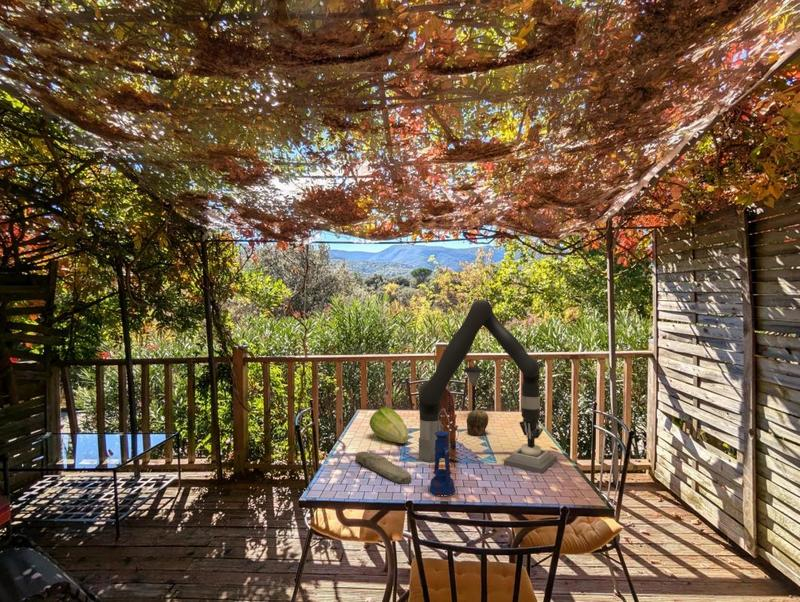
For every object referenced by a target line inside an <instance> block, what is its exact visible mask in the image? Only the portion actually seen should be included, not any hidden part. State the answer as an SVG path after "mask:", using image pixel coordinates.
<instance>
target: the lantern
mask: <svg viewBox="0 0 800 602" xmlns="http://www.w3.org/2000/svg"><path fill="white" fill-rule="evenodd" d="M443 411H444V414H445V415H446V416H445V417H446V419H447V420H448V421H447V422H448V431H444V424H442V423H441V425H440V430H441V431H439V414H440V413H441V412H443ZM440 413H439V414H438V431H437V432H435V435H436V436H437V439H436V440H435V455H434V456H435V461H434V466H433V467H434V470H433V473H432V474H434V476H433V477H431V479H430V482H429V484H430V485H429V490H428V491H430V492H431V493H432V494H431V493H430V492H429V493H430V494H431V495H433V494H434V495H433V496H435V495H440V496H439V497H441V495H443V496H444V495H450V494H453V493H454V492H455V493H456V487H455V482H454V480H453V478H452V477H451V474H452V472H451V464H450V457H451V455H450V453H451V425H450V423H451V422H450V419H449V416H448V414H447V412H446V409H445V408H442V409H440ZM441 414H442V413H441ZM447 438H448V439H447ZM439 458H441V459H444V466H445V467H444V468H440V460H439ZM455 493H454V494H455ZM454 494H453V495H454ZM450 496H451V495H450Z"/></svg>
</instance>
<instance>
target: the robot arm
mask: <svg viewBox="0 0 800 602" xmlns="http://www.w3.org/2000/svg"><path fill="white" fill-rule="evenodd" d="M482 327H484V328H485V329H486V330H487V331H488V332H489V333H490V335H492V336H493V338H494V339H495V340H496V341H497V343H498V344H499V346H500V347H501V348H502V349H503V350H504V351H505V353H506V354H507V355H508V356H509V357H510V358H511V360H513V362H514V363H515V365H516V367H517V368H518V369H519V370H520V372H521V373H522V384H521V417H522V421H520V422H519V426H520V428H521V430H522V433H523V435H524V436H526V439H527V444H528V447H530V448H533V447H534V446H535V445H536V444H535V439H539V437H541V436H540V435H541V434H542V433H543V431H544V429H543V428H542V427H540V423H539V420H540V418H541V401H540V363H539V362H538V360H536V358H532V357H531V356H530V355H529V354H528V352H527V350H526V349H525V347H524V346H523V345H522V344H521V342H520V341H519V340H518V339H517V337H516V336H514V334H512V332H510V331H509V330H508V329H507V328H506V326H504V325H503V324H502V323H501V322H500V320H499V319H498V318H497V316H496V315H495V313H494V311H493V306H492V305H491V303H490V302H489V301H488V300H485V299H478V300H476V301H475V302H473V303H472V304H471V306H470V309H469V311H468V313H467V315H466V317H465V319H464V321H463V322H462V324H461V326H459V329H457V331H456V332H455V334H454V335H453V336H452V338H451V339H450V341H449V343H447V345H446V347H445V349H444V350H443V352H442V354H441V357H440V359H439V361H438V364H437V367H436V368H435V371H434V373H433V375H432V376H431V378H430V379H429V380H427V381H424V382H422V383H421V384H420V386H419V389H418V410H419V411H418V413H419V438H418V460H420V461H425V462H427V463H432V462H435V456H434V455H435V440H436V439H437V436H436V435H435V432H437V431H438V414H439V413H440V411H441V403H440V402H441V399H442V397H443V395H444V393H445V390H446V389H447V387H448V384H449V383H450V381H451V380H452V378H453V376H454V375H455V374H456V372H458V369H459V368H460V366H461V365H462V363H463V362H464V360H465V359H466V357H467V355H468V354H469V352H470V350H471V348H472V346H473V343H474V341H475V339H476V337H477V334H478V333H479V331H480V329H481V328H482ZM441 424H442V413H440V414H439V431H442V429H441V430H440V425H441ZM441 426H442V425H441ZM441 459H442V458H439V461H440V460H441Z"/></svg>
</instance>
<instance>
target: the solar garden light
mask: <svg viewBox="0 0 800 602" xmlns="http://www.w3.org/2000/svg"><path fill="white" fill-rule="evenodd" d="M462 372H464V373H466V375H467V378H468V380H469V382H470V384H471V411H474V410H476V385H477V382H478V380H479V377H480V376H481V374H482V373H484V372H485V370H484V369H483V368H481V367H479V366H469V367H466V368H465V369H463V370H462Z"/></svg>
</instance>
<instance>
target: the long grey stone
mask: <svg viewBox="0 0 800 602" xmlns="http://www.w3.org/2000/svg"><path fill="white" fill-rule="evenodd" d="M355 460H356V461H358V462H359V464H360V465H362V466H363V468H366V469H369V470H372V471H374V472H376V473H378V475H382V476H384V477H385V478H386V479H389V480H390V481H392V482H395V483H398V484H402V485H406V484H410V483H411V482H412V475H411V473H410V472H408V471H407V470H405V469H403V468H401V467H400V466H398V465H396V464H395V463H393V462H391V461H390V460H389V459H387V458H386V456H382V455H379V454H377V453H372V452H368V451H365V450H364V451H358V452H356V454H355Z"/></svg>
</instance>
